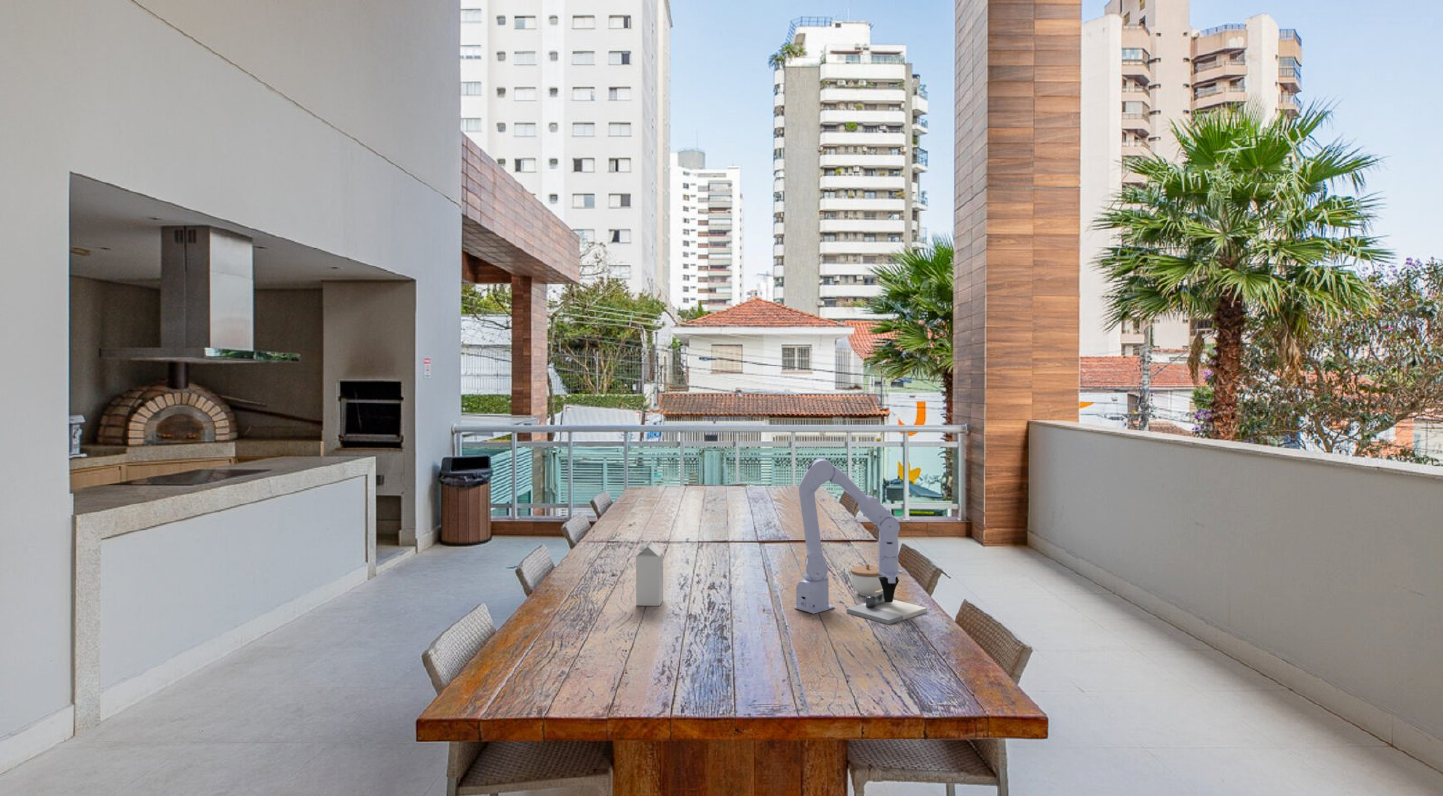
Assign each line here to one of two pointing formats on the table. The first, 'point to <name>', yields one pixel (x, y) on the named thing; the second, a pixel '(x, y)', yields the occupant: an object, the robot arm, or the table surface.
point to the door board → (887, 611)
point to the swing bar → (875, 600)
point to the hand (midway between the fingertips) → (888, 601)
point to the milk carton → (649, 575)
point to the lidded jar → (866, 579)
